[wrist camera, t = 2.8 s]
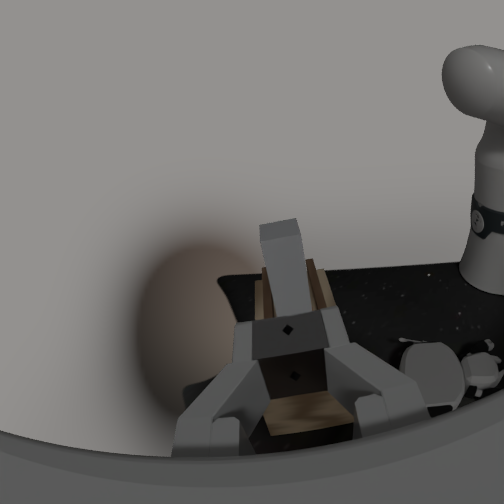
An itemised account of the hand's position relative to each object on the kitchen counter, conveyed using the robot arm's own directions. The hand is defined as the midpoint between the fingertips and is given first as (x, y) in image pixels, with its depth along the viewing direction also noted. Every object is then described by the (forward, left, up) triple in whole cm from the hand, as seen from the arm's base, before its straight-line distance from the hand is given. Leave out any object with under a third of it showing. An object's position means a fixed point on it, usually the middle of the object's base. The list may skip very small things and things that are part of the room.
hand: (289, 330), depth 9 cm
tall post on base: (0, -16, -19) cm, 25 cm away
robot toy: (-18, -13, -28) cm, 36 cm away
